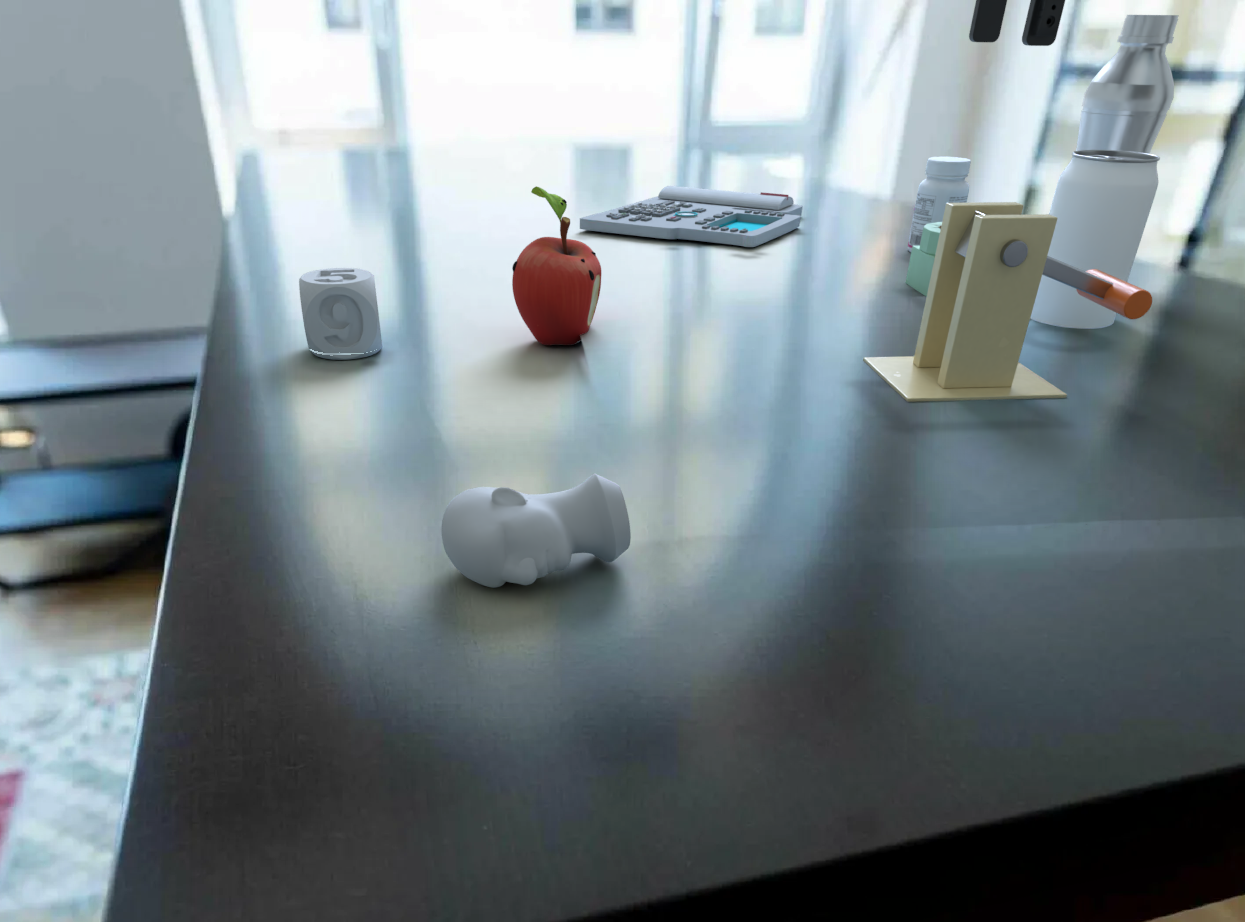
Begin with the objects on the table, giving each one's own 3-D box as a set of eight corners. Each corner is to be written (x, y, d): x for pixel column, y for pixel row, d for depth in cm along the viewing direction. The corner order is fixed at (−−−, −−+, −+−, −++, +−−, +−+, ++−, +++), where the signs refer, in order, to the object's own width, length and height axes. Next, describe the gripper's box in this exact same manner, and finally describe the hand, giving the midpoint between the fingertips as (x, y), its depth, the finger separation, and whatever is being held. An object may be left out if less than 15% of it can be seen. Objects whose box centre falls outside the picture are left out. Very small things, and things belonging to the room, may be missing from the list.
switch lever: (1087, 305, 60) (1111, 268, 59) (1136, 329, 56) (1162, 289, 54) (942, 245, 57) (963, 205, 56) (981, 266, 53) (1005, 222, 51)
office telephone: (672, 179, 117) (826, 193, 109) (670, 202, 118) (823, 217, 110) (578, 204, 100) (753, 223, 92) (578, 231, 102) (750, 251, 93)
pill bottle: (953, 248, 96) (973, 156, 91) (957, 258, 92) (978, 163, 87) (905, 246, 97) (922, 154, 92) (907, 255, 93) (925, 161, 88)
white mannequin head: (445, 619, 40) (449, 533, 43) (632, 611, 40) (623, 526, 43) (431, 548, 36) (437, 460, 39) (637, 540, 36) (627, 454, 39)
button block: (998, 280, 85) (1012, 221, 82) (1038, 302, 79) (1055, 238, 76) (902, 282, 84) (913, 221, 81) (935, 303, 78) (948, 239, 75)
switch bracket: (1002, 371, 63) (1048, 197, 57) (1061, 413, 57) (1121, 221, 51) (860, 375, 63) (891, 198, 56) (903, 417, 56) (944, 223, 50)
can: (1075, 347, 68) (1131, 163, 61) (1001, 325, 73) (1046, 152, 66) (1127, 334, 71) (1186, 157, 64) (1053, 314, 76) (1101, 146, 69)
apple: (625, 342, 68) (629, 192, 62) (558, 363, 64) (556, 204, 58) (553, 321, 73) (551, 179, 67) (486, 339, 69) (477, 189, 63)
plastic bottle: (1076, 300, 79) (1161, 15, 68) (1016, 282, 84) (1086, 14, 73) (1130, 293, 81) (1221, 15, 70) (1069, 276, 86) (1144, 14, 75)
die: (381, 337, 69) (372, 266, 66) (383, 358, 65) (374, 282, 62) (311, 341, 68) (300, 268, 65) (309, 362, 64) (297, 286, 61)
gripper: (1198, -277, 56) (1108, 48, 65) (1071, -229, 67) (1010, 41, 76) (1079, -282, 55) (1006, 47, 64) (971, -232, 66) (922, 40, 76)
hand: (1008, 43), depth 70 cm, fingers open, 8 cm apart
